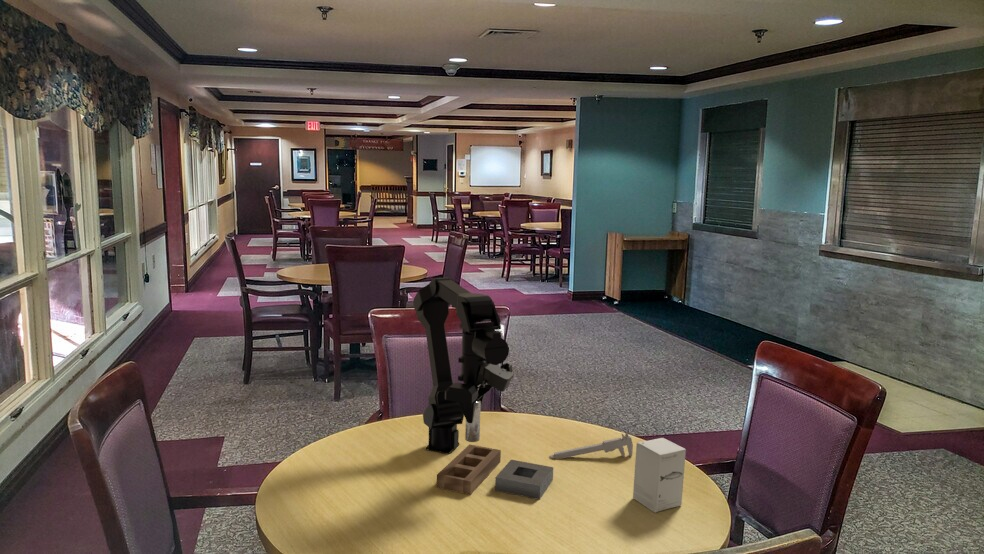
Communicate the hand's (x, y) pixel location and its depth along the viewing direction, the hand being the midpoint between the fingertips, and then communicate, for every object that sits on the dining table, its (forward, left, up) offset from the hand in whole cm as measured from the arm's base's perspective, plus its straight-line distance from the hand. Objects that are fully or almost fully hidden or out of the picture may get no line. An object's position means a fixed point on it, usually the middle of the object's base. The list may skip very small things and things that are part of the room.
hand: (472, 420), depth 152 cm
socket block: (+13, 0, -13) cm, 18 cm away
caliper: (+23, +21, -13) cm, 33 cm away
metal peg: (0, 0, -5) cm, 4 cm away
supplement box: (+41, +4, -13) cm, 43 cm away
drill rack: (0, 0, -13) cm, 13 cm away
